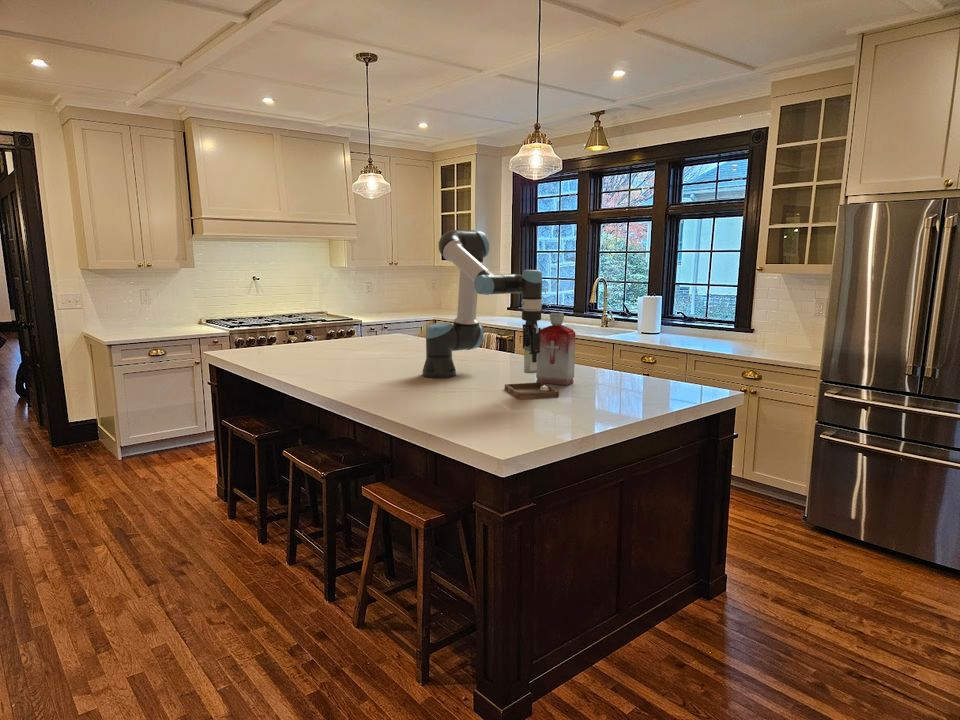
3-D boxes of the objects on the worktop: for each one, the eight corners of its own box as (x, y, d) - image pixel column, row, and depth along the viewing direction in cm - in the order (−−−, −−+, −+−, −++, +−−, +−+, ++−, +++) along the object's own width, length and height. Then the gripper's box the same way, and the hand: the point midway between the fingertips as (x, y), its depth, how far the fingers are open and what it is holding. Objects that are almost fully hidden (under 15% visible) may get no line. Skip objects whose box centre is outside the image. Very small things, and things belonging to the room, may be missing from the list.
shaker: (521, 371, 248) (522, 344, 246) (534, 370, 250) (535, 343, 248) (526, 373, 243) (526, 346, 241) (539, 373, 245) (540, 345, 243)
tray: (504, 390, 253) (504, 384, 253) (541, 388, 258) (541, 382, 257) (519, 400, 236) (519, 394, 236) (558, 398, 241) (558, 391, 240)
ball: (538, 393, 246) (538, 384, 245) (546, 393, 246) (546, 384, 246) (541, 395, 242) (541, 386, 241) (550, 395, 243) (550, 386, 242)
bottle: (534, 383, 266) (536, 313, 260) (543, 379, 275) (545, 311, 269) (566, 387, 259) (569, 315, 254) (575, 383, 268) (577, 313, 263)
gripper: (514, 308, 250) (514, 365, 254) (530, 312, 233) (529, 373, 237) (532, 307, 252) (531, 364, 256) (549, 311, 235) (548, 372, 239)
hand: (530, 368), depth 246 cm, fingers closed on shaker, 5 cm apart
